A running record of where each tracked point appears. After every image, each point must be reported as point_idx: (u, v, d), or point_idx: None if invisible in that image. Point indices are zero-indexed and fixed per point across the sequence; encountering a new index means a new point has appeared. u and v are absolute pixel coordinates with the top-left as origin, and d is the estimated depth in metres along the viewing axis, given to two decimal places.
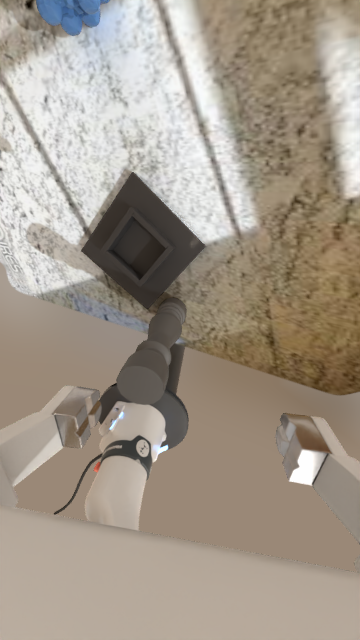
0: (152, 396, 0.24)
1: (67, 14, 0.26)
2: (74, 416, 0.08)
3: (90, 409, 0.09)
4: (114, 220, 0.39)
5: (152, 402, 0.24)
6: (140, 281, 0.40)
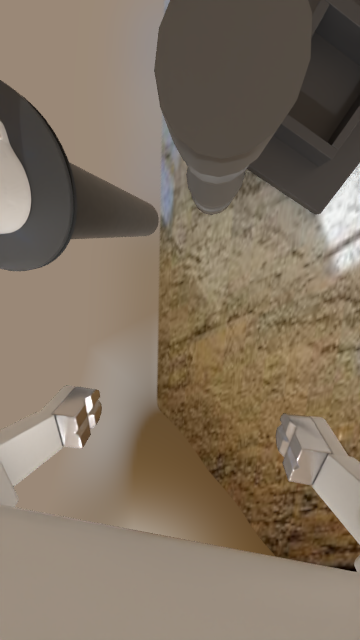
0: (198, 124, 0.08)
1: None
2: (74, 416, 0.08)
3: (90, 409, 0.09)
4: None
5: (178, 130, 0.08)
6: None
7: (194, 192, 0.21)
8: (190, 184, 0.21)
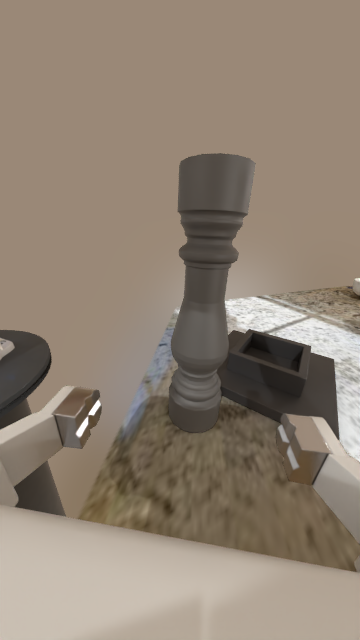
0: None
1: None
2: (74, 416, 0.08)
3: (90, 409, 0.09)
4: None
5: None
6: (237, 352, 0.30)
7: (179, 339, 0.20)
8: (175, 334, 0.20)
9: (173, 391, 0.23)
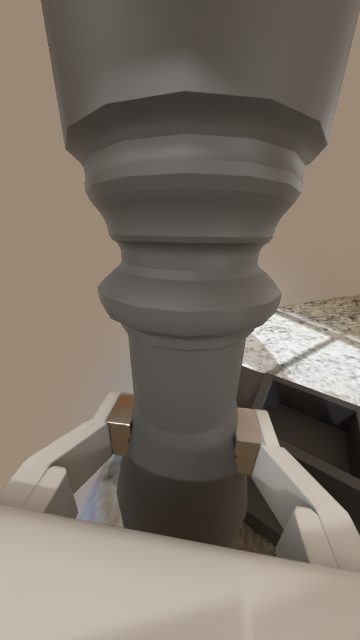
0: None
1: None
2: (129, 423, 0.07)
3: None
4: None
5: None
6: None
7: (126, 496, 0.08)
8: (121, 473, 0.08)
9: None
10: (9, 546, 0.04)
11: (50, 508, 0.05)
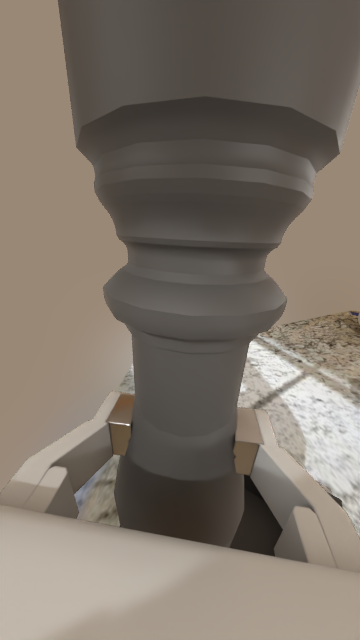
0: None
1: None
2: (129, 424, 0.07)
3: None
4: None
5: None
6: None
7: (124, 497, 0.08)
8: (119, 473, 0.08)
9: None
10: (9, 546, 0.04)
11: (51, 508, 0.05)
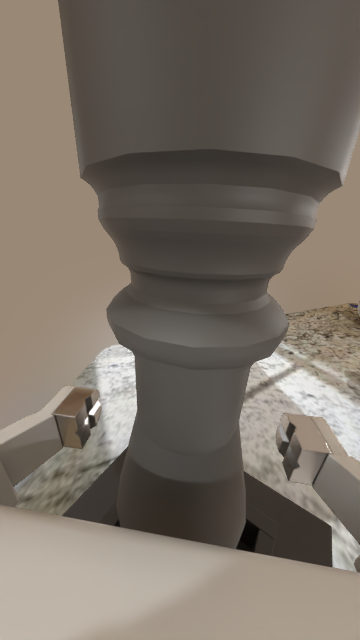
0: None
1: None
2: (74, 416, 0.08)
3: (90, 409, 0.09)
4: None
5: None
6: None
7: (127, 511, 0.08)
8: (122, 487, 0.09)
9: None
10: (9, 546, 0.04)
11: None
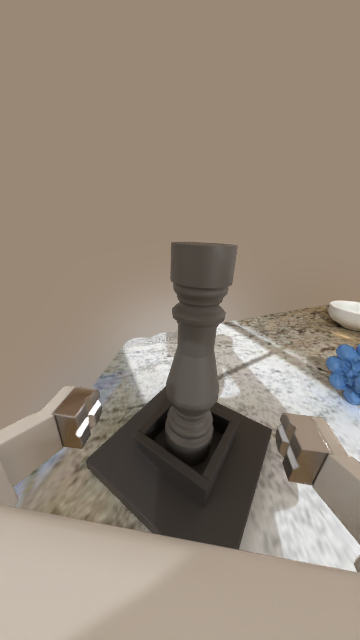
0: (191, 244, 0.16)
1: (340, 375, 0.36)
2: (74, 416, 0.08)
3: (90, 409, 0.09)
4: None
5: (180, 244, 0.16)
6: (142, 435, 0.25)
7: (173, 386, 0.22)
8: (170, 380, 0.22)
9: (168, 427, 0.25)
10: (9, 546, 0.04)
11: None
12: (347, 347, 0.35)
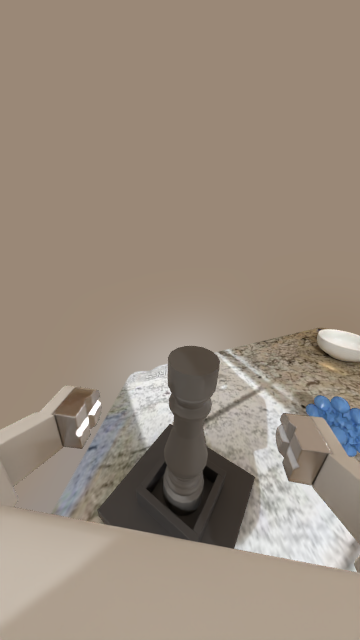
0: (183, 367, 0.21)
1: None
2: (74, 416, 0.08)
3: (90, 409, 0.09)
4: None
5: (174, 367, 0.21)
6: (144, 489, 0.30)
7: (169, 457, 0.26)
8: (167, 450, 0.27)
9: (166, 482, 0.30)
10: (9, 546, 0.04)
11: None
12: (323, 399, 0.40)
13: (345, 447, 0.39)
